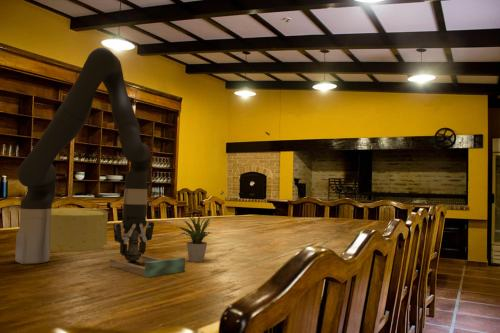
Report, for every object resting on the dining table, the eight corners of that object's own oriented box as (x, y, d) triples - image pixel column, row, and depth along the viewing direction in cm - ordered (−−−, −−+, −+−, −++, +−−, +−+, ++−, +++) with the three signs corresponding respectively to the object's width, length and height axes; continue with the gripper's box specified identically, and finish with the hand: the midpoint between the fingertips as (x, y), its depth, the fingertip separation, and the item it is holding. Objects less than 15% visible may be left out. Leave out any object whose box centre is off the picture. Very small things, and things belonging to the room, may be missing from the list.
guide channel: (147, 277, 119) (148, 263, 120) (109, 265, 134) (110, 253, 134) (184, 271, 129) (185, 258, 129) (145, 261, 144) (145, 249, 144)
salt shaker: (138, 266, 134) (140, 228, 135) (120, 265, 134) (122, 227, 135) (143, 262, 140) (145, 226, 140) (126, 262, 140) (128, 225, 141)
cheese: (122, 246, 175) (123, 210, 175) (65, 254, 153) (67, 213, 153) (82, 240, 189) (83, 207, 189) (24, 247, 167) (26, 209, 167)
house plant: (194, 255, 159) (195, 211, 159) (224, 259, 151) (226, 213, 152) (168, 260, 146) (170, 213, 147) (200, 265, 139) (202, 215, 140)
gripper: (121, 203, 130) (118, 258, 129) (160, 203, 141) (158, 254, 140) (109, 202, 135) (106, 255, 134) (147, 202, 146) (145, 251, 145)
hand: (132, 254), depth 137 cm, fingers closed on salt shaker, 6 cm apart
